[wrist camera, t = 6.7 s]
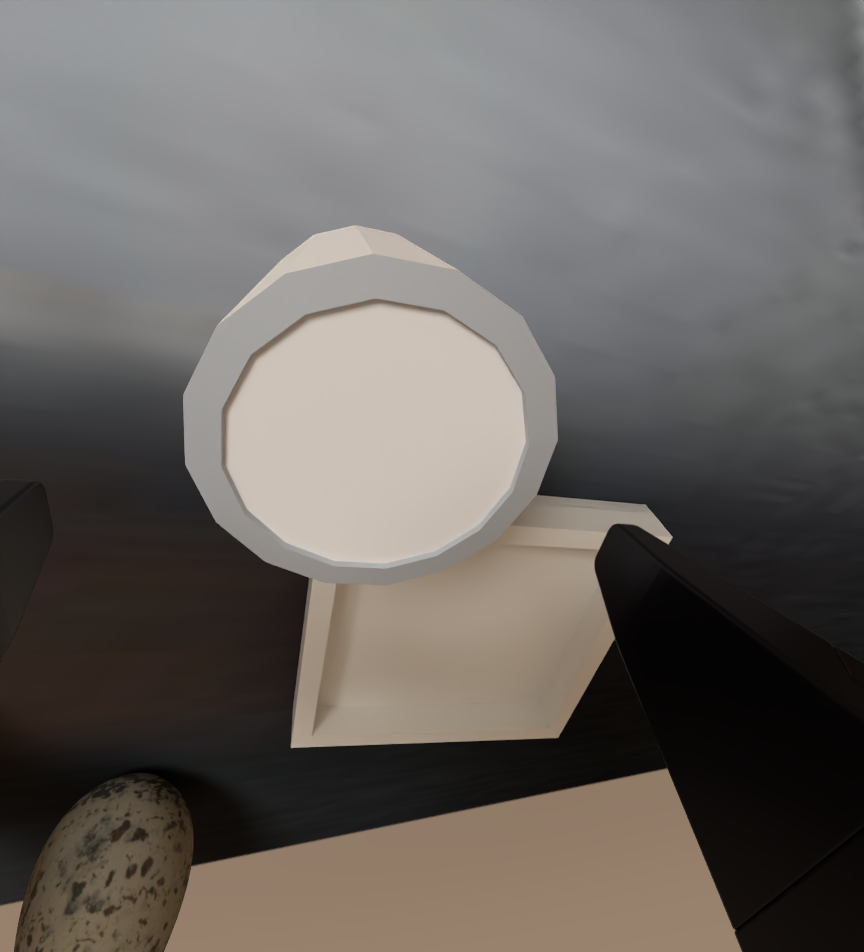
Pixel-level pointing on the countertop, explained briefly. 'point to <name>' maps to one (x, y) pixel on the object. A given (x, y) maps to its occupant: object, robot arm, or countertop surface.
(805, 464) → the countertop surface
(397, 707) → the tray
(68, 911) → the decorative egg
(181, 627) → the countertop surface
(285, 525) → the white cup
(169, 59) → the countertop surface
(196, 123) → the countertop surface
